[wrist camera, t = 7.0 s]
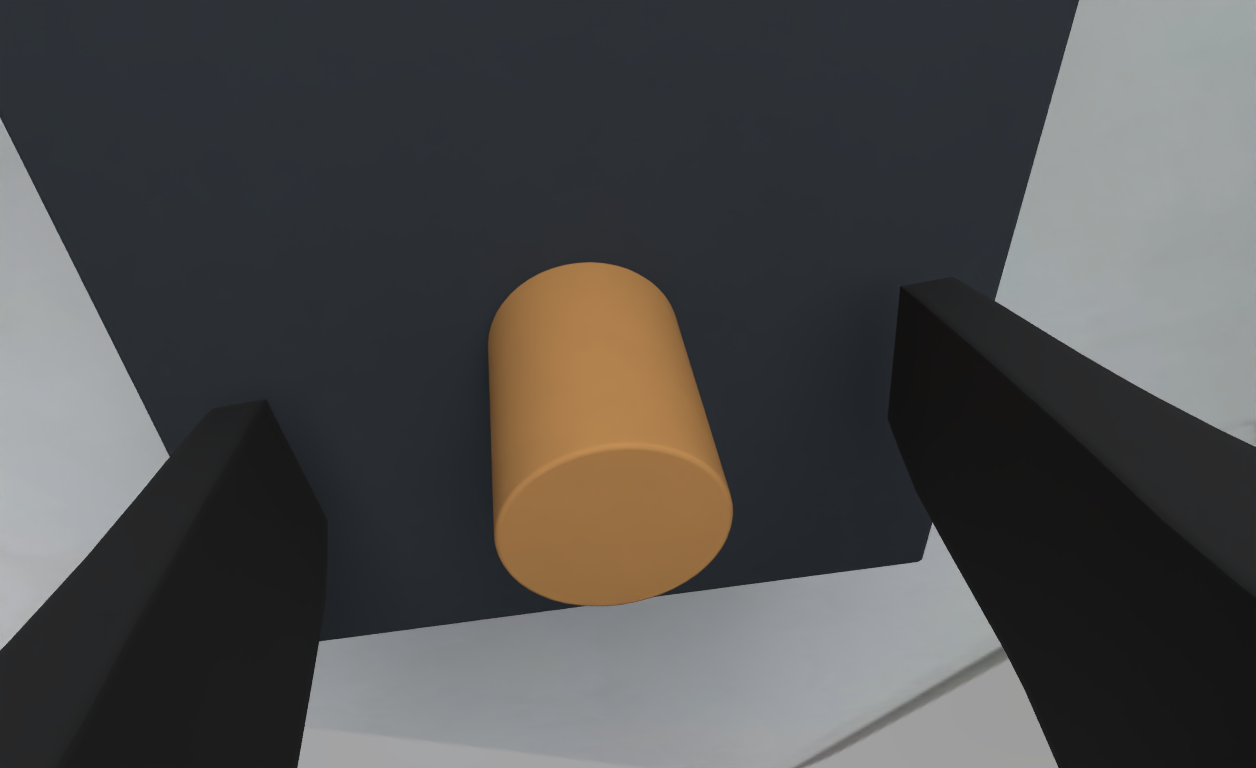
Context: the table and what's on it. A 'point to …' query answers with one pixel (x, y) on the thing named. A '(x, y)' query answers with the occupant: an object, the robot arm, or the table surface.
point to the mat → (539, 263)
